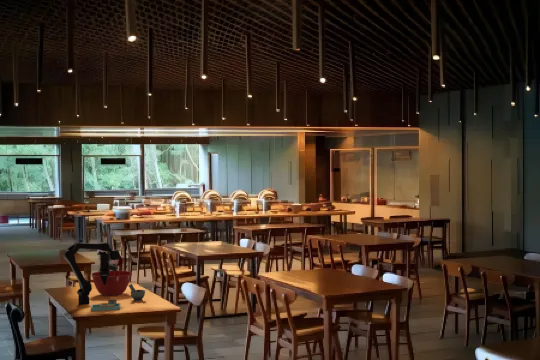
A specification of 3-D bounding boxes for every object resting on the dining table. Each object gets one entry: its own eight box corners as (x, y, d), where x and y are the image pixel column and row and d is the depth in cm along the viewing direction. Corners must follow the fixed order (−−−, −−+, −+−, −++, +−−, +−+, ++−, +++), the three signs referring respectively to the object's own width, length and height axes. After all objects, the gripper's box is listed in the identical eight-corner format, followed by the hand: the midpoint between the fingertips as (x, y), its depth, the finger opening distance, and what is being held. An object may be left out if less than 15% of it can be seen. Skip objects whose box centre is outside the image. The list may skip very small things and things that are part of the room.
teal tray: (90, 312, 446) (90, 308, 446) (91, 308, 458) (91, 304, 458) (120, 310, 450) (120, 306, 450) (120, 307, 461) (120, 303, 461)
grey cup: (108, 307, 461) (108, 301, 461) (108, 305, 466) (108, 299, 466) (116, 306, 462) (116, 300, 462) (116, 305, 467) (116, 299, 467)
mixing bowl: (137, 291, 521) (136, 270, 521) (125, 298, 493) (124, 276, 492) (99, 291, 524) (99, 270, 523) (85, 298, 495) (85, 276, 495)
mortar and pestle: (143, 299, 488) (143, 281, 488) (146, 301, 479) (146, 283, 479) (127, 300, 483) (126, 283, 483) (130, 303, 475) (130, 285, 474)
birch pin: (98, 306, 451) (112, 301, 453) (98, 304, 454) (112, 299, 455) (101, 313, 452) (115, 308, 454) (101, 311, 455) (115, 306, 456)
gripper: (116, 262, 473) (117, 285, 473) (116, 258, 491) (117, 281, 491) (99, 262, 471) (99, 286, 471) (100, 259, 489) (100, 282, 489)
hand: (104, 284), depth 481 cm, fingers open, 9 cm apart
